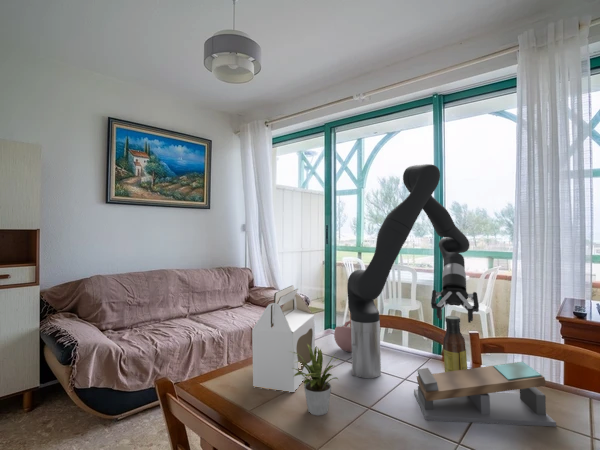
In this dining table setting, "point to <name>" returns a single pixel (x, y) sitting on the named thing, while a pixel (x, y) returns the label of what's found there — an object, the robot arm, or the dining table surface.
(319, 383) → the house plant
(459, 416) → the seesaw stand
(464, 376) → the seesaw plank
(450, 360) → the sauce bottle
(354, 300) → the robot arm
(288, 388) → the gable box
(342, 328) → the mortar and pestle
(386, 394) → the dining table surface
